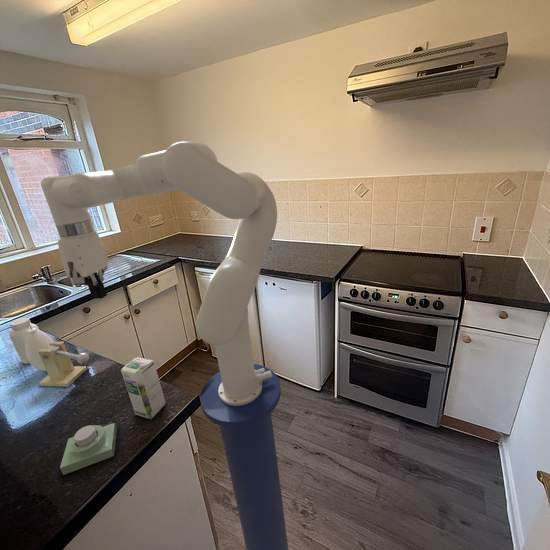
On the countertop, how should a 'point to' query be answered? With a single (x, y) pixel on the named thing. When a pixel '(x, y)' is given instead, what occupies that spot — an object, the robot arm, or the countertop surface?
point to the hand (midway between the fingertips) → (99, 297)
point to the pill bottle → (21, 336)
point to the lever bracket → (59, 367)
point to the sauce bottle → (36, 347)
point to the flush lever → (70, 354)
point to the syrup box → (143, 387)
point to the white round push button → (85, 436)
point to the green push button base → (89, 449)
